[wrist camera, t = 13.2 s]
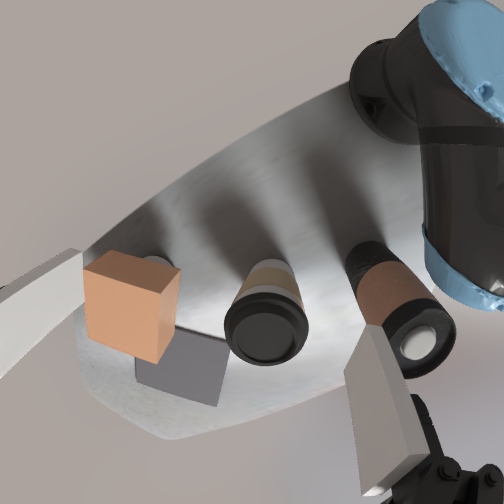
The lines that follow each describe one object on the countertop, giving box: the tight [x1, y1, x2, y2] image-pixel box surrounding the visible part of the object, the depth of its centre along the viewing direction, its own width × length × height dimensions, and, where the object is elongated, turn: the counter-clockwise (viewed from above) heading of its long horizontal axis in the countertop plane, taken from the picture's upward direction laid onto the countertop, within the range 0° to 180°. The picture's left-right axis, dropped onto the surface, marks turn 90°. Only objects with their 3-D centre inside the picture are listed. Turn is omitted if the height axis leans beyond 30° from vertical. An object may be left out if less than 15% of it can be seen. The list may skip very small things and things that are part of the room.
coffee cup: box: [224, 259, 309, 366], centre depth 35 cm, size 9×9×15 cm
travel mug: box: [346, 241, 456, 379], centre depth 30 cm, size 8×8×20 cm
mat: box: [136, 327, 230, 407], centre depth 50 cm, size 17×17×1 cm
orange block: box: [83, 250, 181, 364], centre depth 35 cm, size 11×11×7 cm
